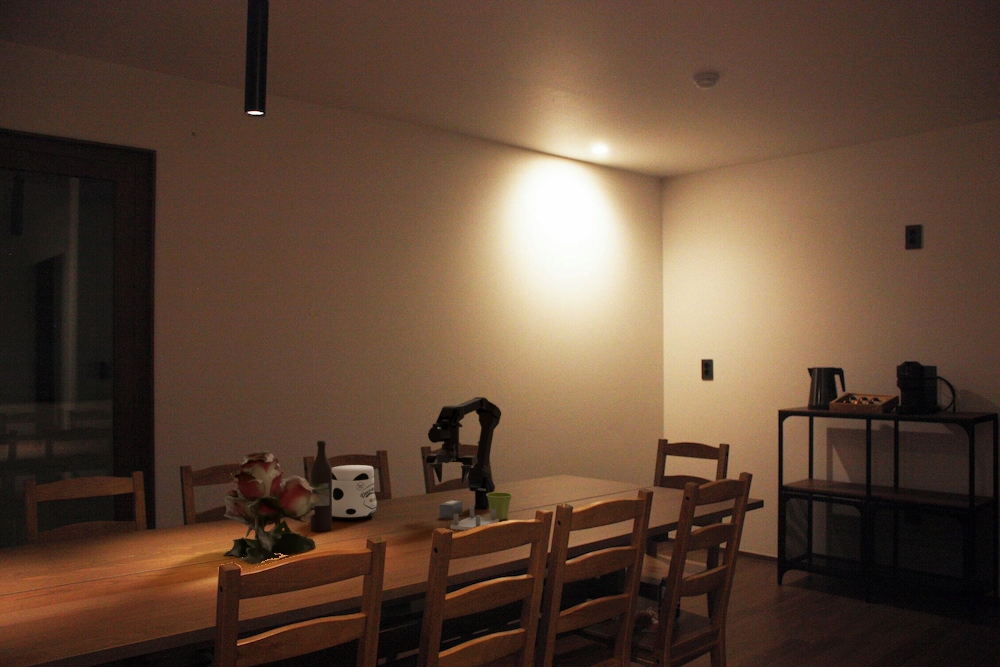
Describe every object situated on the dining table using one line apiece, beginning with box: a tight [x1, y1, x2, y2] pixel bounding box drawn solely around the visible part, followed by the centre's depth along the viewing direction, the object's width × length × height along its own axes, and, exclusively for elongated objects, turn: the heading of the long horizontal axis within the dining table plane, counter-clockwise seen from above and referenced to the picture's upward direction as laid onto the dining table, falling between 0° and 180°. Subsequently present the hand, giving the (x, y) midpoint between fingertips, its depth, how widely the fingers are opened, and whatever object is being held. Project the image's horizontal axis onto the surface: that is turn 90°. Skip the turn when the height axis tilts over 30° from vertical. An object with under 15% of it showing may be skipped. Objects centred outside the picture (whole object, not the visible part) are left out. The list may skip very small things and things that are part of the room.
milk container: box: [331, 464, 378, 521], centre depth 289 cm, size 17×17×18 cm
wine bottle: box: [309, 439, 333, 533], centre depth 268 cm, size 7×7×30 cm
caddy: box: [449, 506, 500, 531], centre depth 274 cm, size 16×11×5 cm
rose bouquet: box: [223, 450, 320, 565], centre depth 241 cm, size 26×29×30 cm
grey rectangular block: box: [439, 499, 463, 520], centre depth 291 cm, size 9×5×5 cm, turn 158°
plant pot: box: [486, 491, 513, 521], centre depth 286 cm, size 9×9×9 cm
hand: (451, 483), depth 291 cm, fingers open, 9 cm apart
